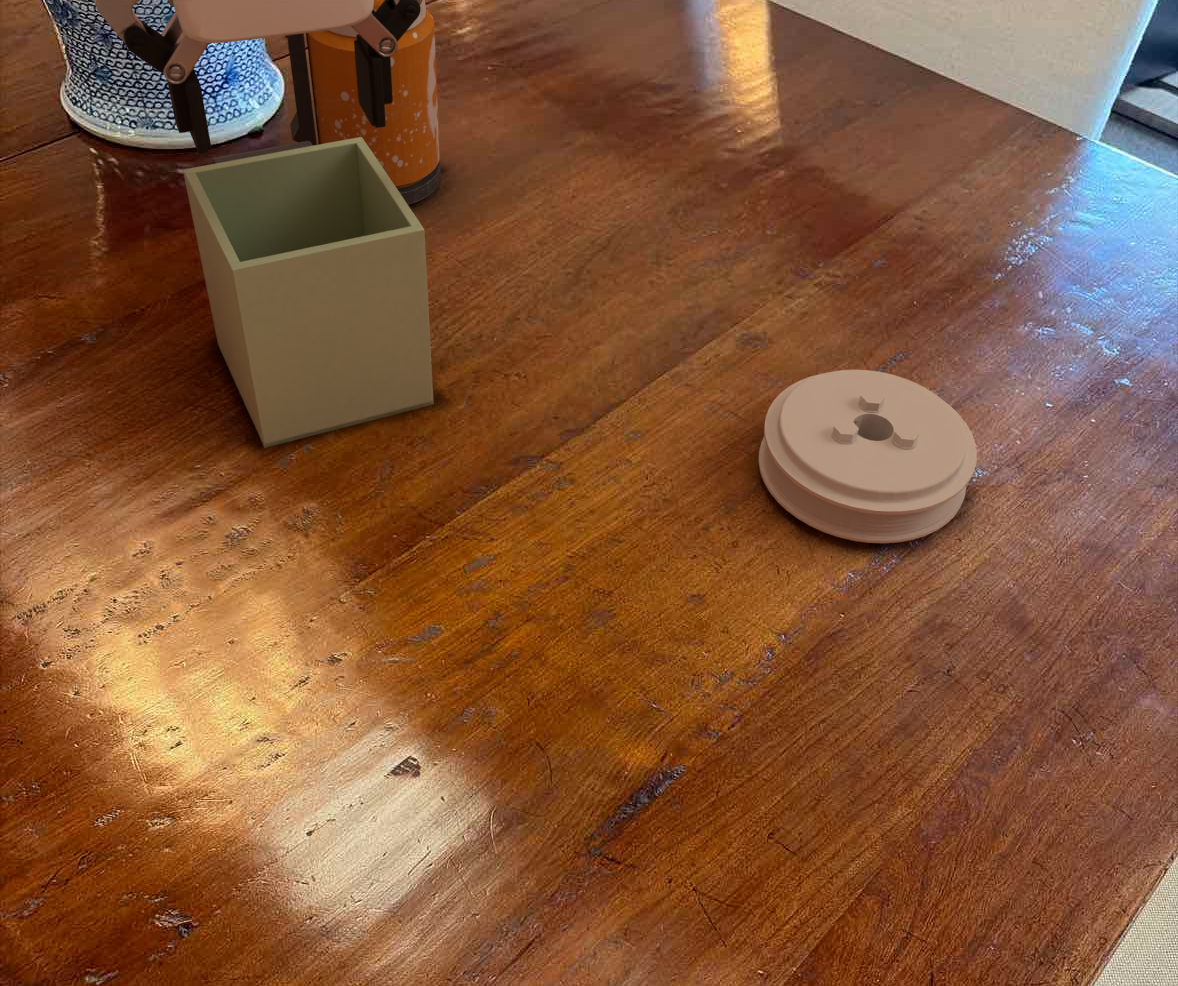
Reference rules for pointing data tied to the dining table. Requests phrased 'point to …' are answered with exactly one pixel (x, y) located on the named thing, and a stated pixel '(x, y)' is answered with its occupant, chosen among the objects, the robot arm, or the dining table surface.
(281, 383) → the bin
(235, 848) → the dining table surface
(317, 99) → the canister
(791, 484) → the lid
